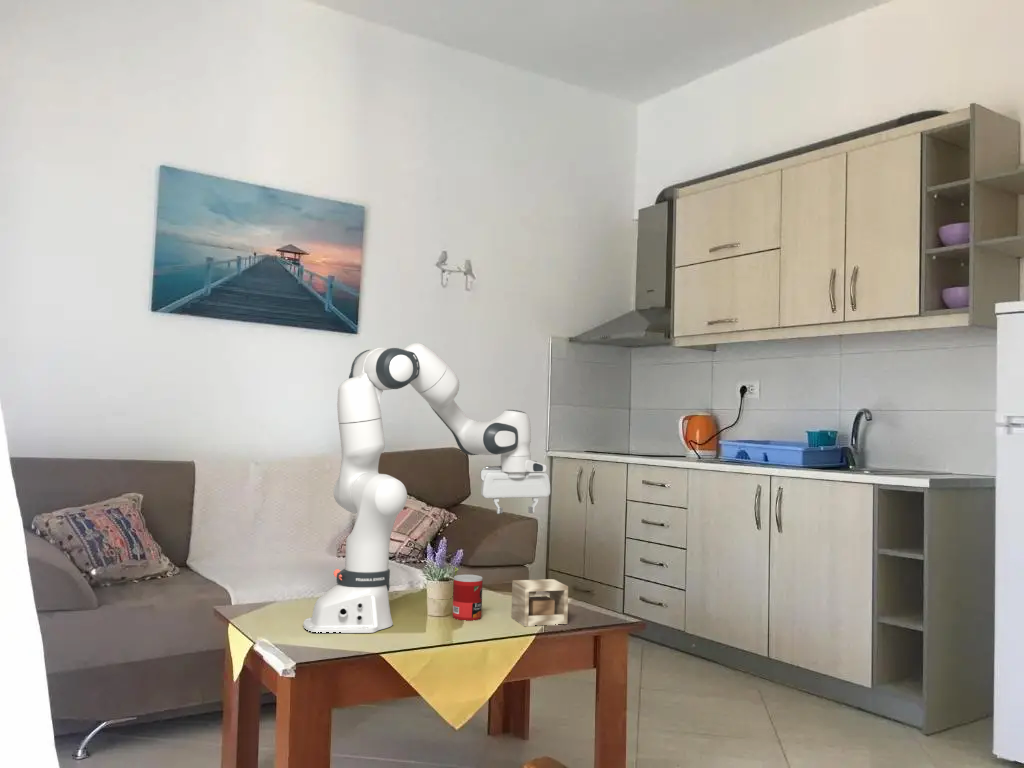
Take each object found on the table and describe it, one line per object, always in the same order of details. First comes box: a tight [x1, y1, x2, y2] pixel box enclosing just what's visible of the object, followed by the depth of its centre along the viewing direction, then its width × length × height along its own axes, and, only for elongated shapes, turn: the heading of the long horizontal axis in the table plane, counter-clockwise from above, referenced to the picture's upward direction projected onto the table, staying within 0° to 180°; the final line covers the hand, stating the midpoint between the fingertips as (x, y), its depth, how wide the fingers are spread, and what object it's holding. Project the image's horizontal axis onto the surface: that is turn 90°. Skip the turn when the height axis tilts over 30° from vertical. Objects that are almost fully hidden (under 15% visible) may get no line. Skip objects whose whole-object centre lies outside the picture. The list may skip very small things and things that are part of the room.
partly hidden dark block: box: [528, 591, 555, 616], centre depth 235 cm, size 6×20×6 cm, turn 18°
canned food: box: [452, 574, 483, 622], centre depth 231 cm, size 8×8×11 cm
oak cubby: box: [511, 578, 569, 627], centre depth 230 cm, size 12×11×10 cm
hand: (515, 513), depth 248 cm, fingers open, 8 cm apart
